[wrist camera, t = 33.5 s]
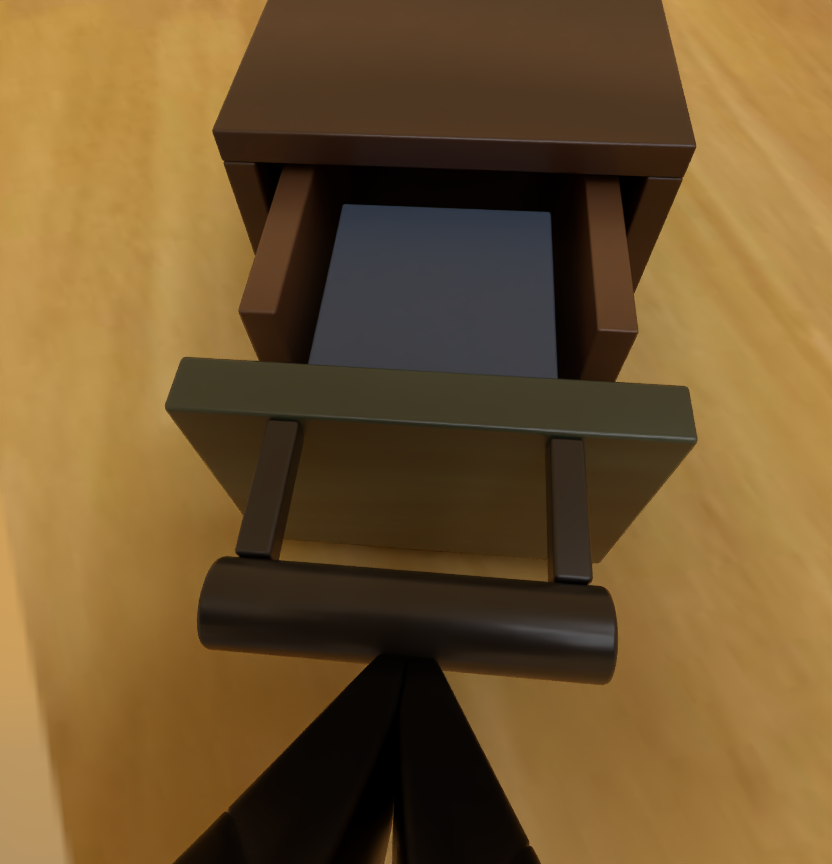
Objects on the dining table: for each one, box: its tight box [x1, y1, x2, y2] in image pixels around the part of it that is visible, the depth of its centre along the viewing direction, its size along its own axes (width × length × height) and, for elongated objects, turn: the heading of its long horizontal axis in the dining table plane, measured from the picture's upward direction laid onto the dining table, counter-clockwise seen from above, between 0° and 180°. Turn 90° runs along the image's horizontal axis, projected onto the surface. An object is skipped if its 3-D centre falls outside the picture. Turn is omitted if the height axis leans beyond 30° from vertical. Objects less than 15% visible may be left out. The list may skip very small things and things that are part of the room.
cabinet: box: [212, 0, 696, 293], centre depth 20 cm, size 14×11×9 cm
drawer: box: [165, 163, 697, 685], centre depth 15 cm, size 16×9×7 cm, turn 175°
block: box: [308, 204, 558, 379], centre depth 15 cm, size 5×5×5 cm
